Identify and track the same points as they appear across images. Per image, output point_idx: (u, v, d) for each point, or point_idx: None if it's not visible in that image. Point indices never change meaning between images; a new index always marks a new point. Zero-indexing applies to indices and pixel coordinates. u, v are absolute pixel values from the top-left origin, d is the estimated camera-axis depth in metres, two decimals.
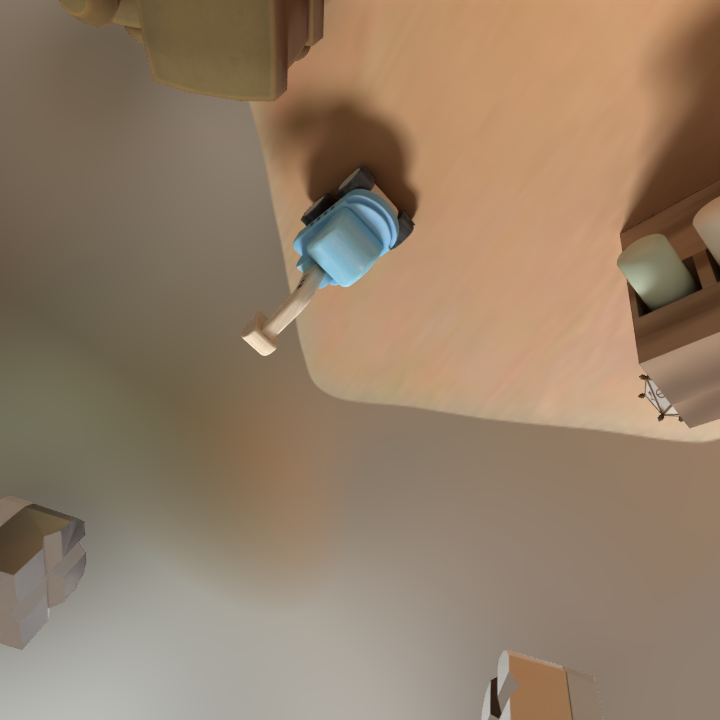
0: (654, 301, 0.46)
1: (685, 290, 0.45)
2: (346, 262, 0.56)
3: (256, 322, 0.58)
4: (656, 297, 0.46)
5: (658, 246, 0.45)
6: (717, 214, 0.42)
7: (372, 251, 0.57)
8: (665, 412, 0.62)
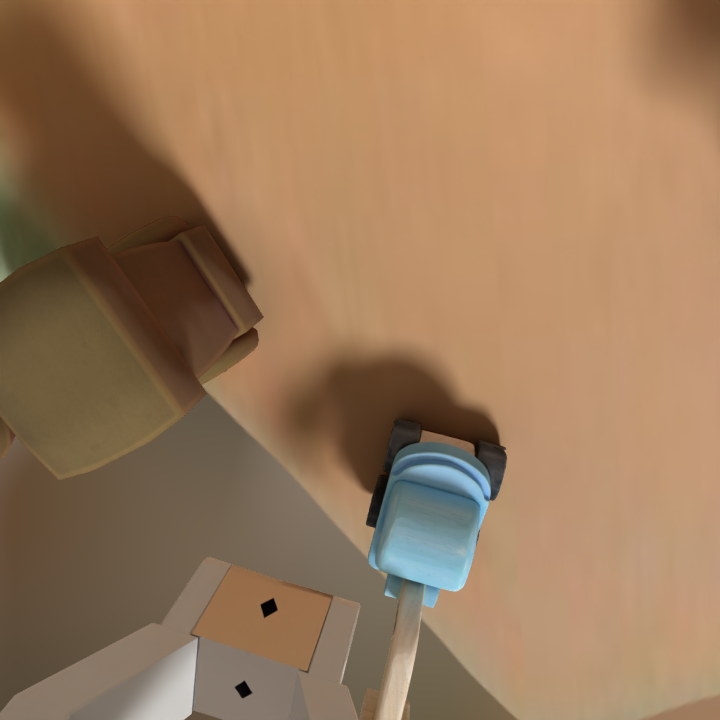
0: None
1: None
2: (436, 555, 0.36)
3: (363, 717, 0.35)
4: None
5: None
6: None
7: (464, 519, 0.37)
8: None
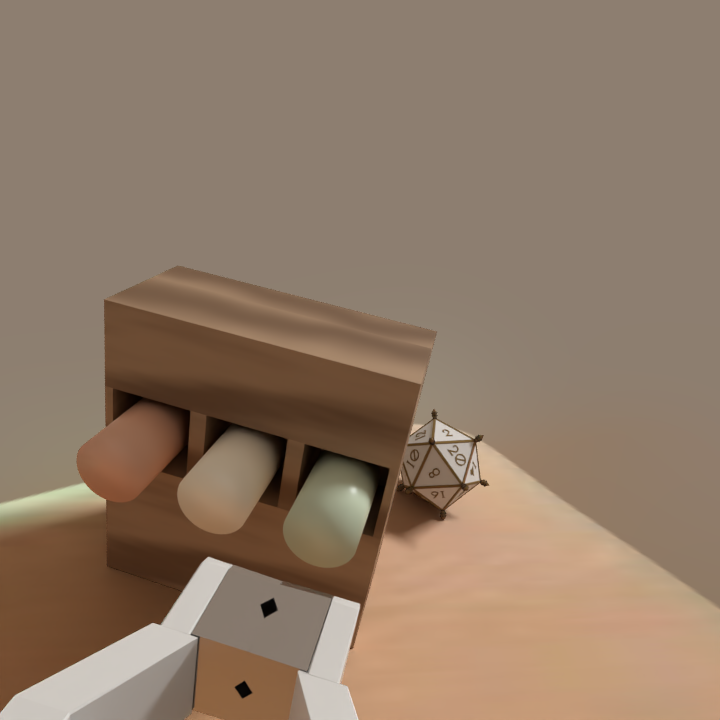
0: (359, 474, 0.32)
1: (322, 462, 0.33)
2: None
3: None
4: (353, 474, 0.32)
5: (296, 522, 0.29)
6: (217, 500, 0.30)
7: None
8: (470, 440, 0.50)
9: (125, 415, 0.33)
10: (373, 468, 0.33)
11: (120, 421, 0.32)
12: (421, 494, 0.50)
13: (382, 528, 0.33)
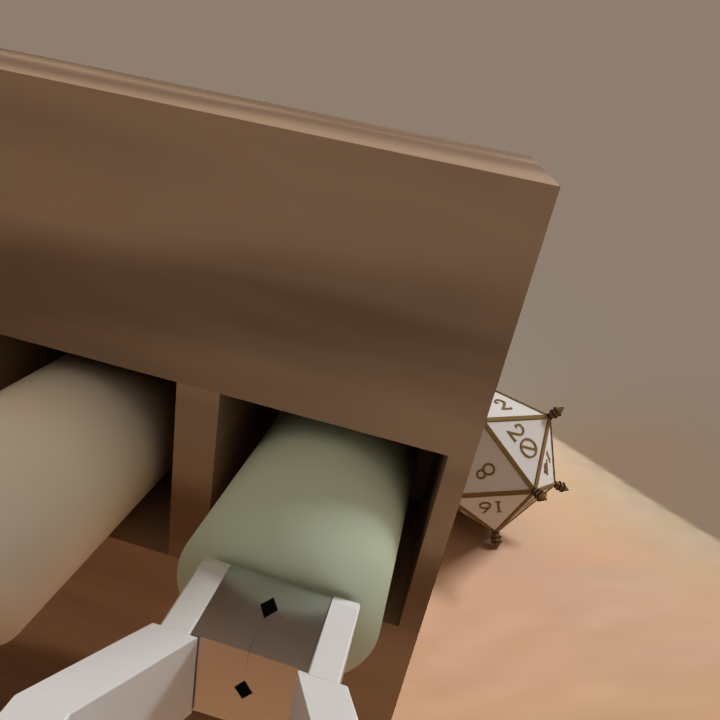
0: (378, 438, 0.13)
1: (290, 413, 0.14)
2: None
3: None
4: (363, 438, 0.13)
5: None
6: None
7: None
8: (542, 416, 0.30)
9: None
10: None
11: None
12: (462, 507, 0.30)
13: (422, 607, 0.13)
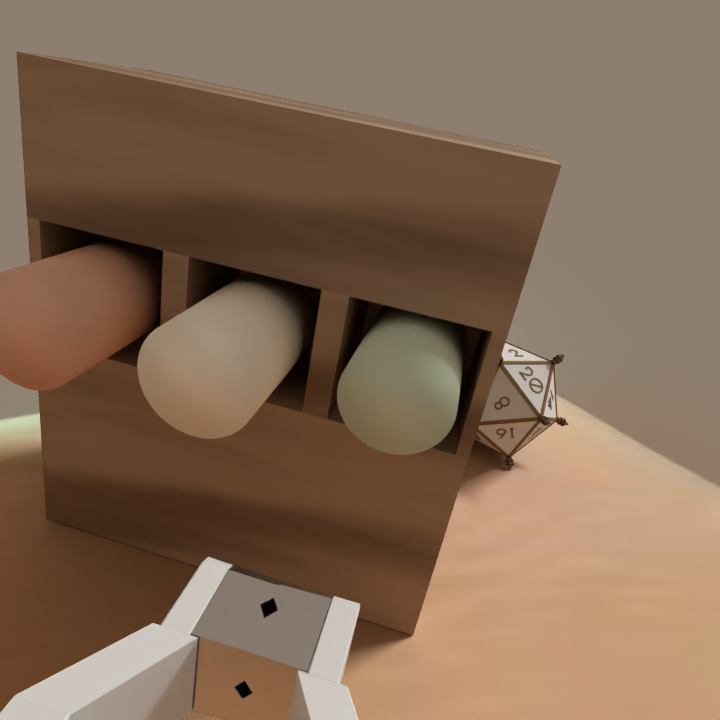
0: (446, 324, 0.21)
1: (388, 311, 0.22)
2: None
3: None
4: (437, 321, 0.21)
5: (359, 378, 0.19)
6: (206, 375, 0.17)
7: None
8: (547, 362, 0.38)
9: (56, 255, 0.20)
10: (460, 325, 0.23)
11: (46, 259, 0.19)
12: (483, 433, 0.37)
13: (472, 439, 0.21)
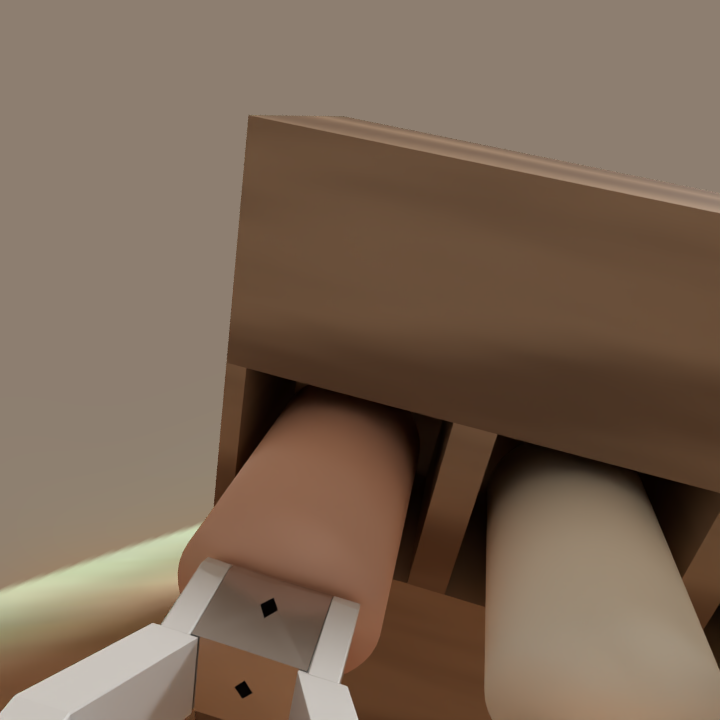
0: None
1: None
2: None
3: None
4: None
5: None
6: (626, 700, 0.10)
7: None
8: None
9: (292, 436, 0.13)
10: None
11: (290, 454, 0.12)
12: None
13: None
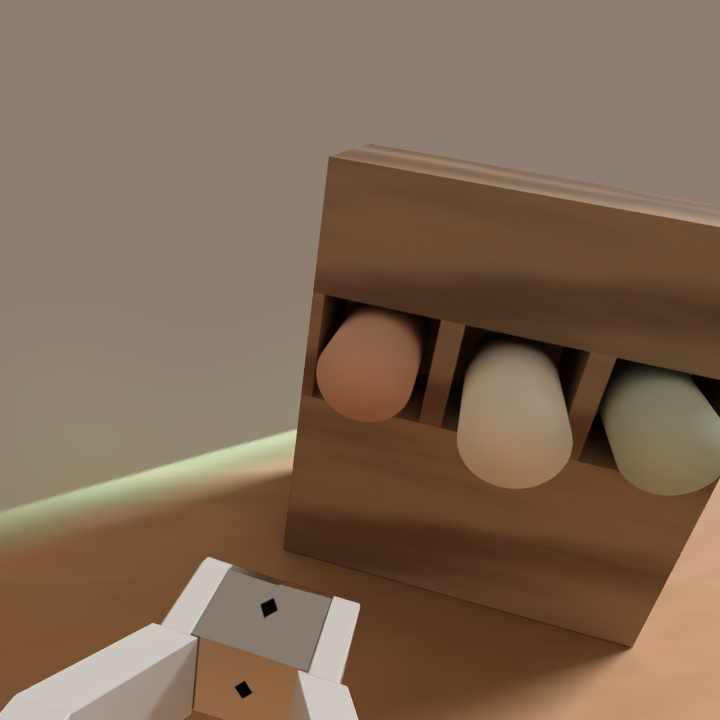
0: (687, 375, 0.24)
1: (628, 363, 0.25)
2: None
3: None
4: (683, 374, 0.24)
5: (640, 431, 0.21)
6: (524, 436, 0.20)
7: None
8: None
9: (364, 311, 0.25)
10: None
11: (365, 316, 0.24)
12: None
13: None
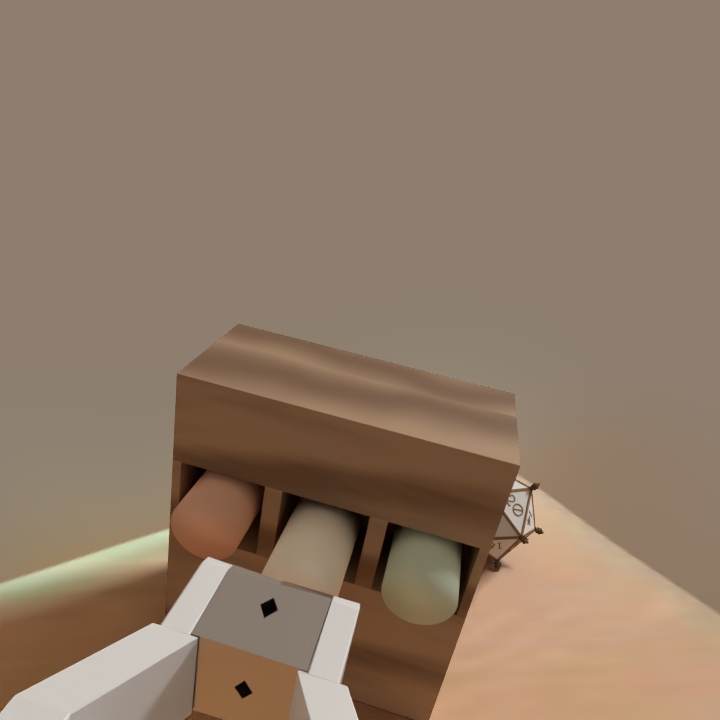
0: None
1: None
2: None
3: None
4: None
5: (396, 581, 0.30)
6: None
7: None
8: (526, 488, 0.49)
9: None
10: None
11: (211, 479, 0.32)
12: None
13: (467, 607, 0.32)
